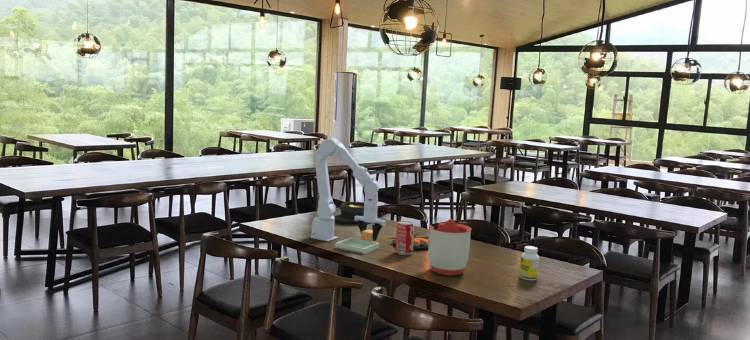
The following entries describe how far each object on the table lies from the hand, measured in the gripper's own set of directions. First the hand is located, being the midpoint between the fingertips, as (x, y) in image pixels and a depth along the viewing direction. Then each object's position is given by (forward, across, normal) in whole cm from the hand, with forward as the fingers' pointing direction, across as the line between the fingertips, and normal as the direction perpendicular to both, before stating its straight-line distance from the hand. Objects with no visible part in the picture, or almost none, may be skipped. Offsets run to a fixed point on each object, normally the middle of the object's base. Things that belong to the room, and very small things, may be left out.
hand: (369, 239), depth 260 cm
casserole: (+2, -27, +32) cm, 42 cm away
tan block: (+1, 0, 0) cm, 1 cm away
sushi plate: (+2, +16, +17) cm, 24 cm away
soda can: (+2, +20, -5) cm, 21 cm away
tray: (+1, +1, -11) cm, 11 cm away
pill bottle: (+2, +71, -4) cm, 71 cm away
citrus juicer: (+2, +43, -16) cm, 46 cm away
